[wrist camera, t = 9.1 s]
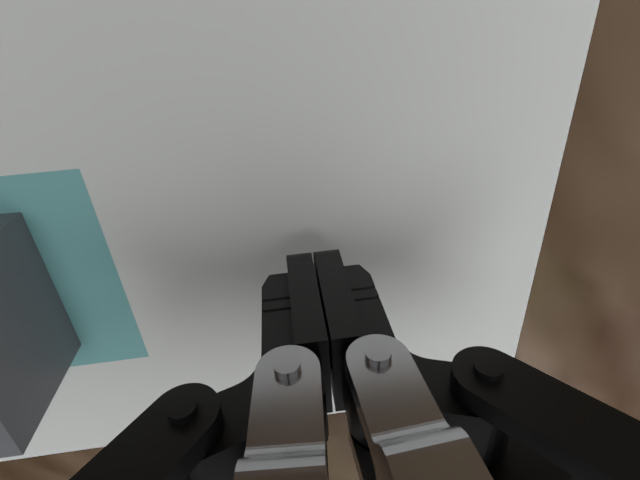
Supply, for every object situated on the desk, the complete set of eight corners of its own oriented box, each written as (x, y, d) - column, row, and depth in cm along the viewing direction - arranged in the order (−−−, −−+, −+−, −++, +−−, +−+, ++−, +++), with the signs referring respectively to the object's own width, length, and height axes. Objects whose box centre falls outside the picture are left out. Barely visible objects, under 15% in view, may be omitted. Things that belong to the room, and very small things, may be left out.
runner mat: (-861, -39, 8) (-902, -41, 7) (619, -119, 10) (629, -123, 10) (-214, 485, 16) (-221, 493, 16) (503, 383, 18) (506, 388, 18)
